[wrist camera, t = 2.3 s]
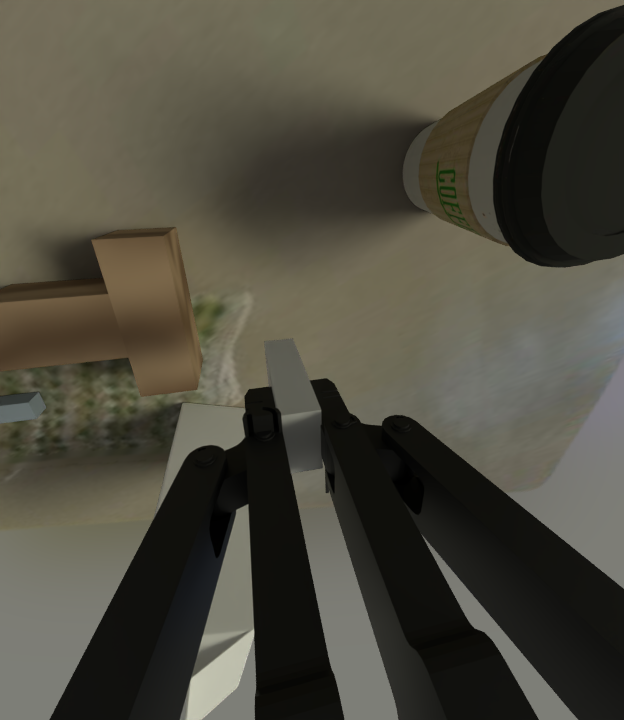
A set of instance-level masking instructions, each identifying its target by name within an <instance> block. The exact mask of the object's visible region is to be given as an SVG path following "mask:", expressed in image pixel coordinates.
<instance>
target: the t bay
mask: <svg viewBox="0 0 624 720" xmlns="http://www.w3.org/2000/svg"><path fill="white" fill-rule="evenodd" d="M45 408H46V406H45V404H44V402H43V400H42V398H41V396H40V393H39V392H33V393H24V394H16V395H8V396H0V423H8V422H15V421H23V420H31V419H37V418H38V417H39V415H40V414H41V413H42V412H43V411H44V410H45Z"/></svg>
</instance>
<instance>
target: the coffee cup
mask: <svg viewBox="0 0 624 720" xmlns="http://www.w3.org/2000/svg"><path fill="white" fill-rule="evenodd" d="M403 184H404V188H405V191H406V194H407V195H408V197H409V199H410V200H411V201H412V202H413V204H414V205H416V206H417V207H419V208H420V209H422V210H425V211H428V212H430V213H433V214H434V215H436V216H437V217H438V218H440V219H442V220H444V221H447V222H449V223H451V224H454V225H456V226H459V227H461V228H463V229H466V230H468V231H470V232H473V233H475V234H478V235H480V236H482V237H485V238H487V239H489V240H492V241H494V242H497V243H500V244H502V245H505V246H510V247H511V248H512V250H513V251H514V252H515V253H516V254H518V255H519V256H521V257H522V258H523V259H525V260H526V261H528V262H531V263H534V264H536V265H539V266H546V267H572V266H578V265H585V264H588V263H590V262H593V261H597V260H603V259H610V258H614V257H617V256H620V255H622V254H624V5H622V6H619V7H616V8H613V9H610V10H607V11H604V12H601V13H598V14H597V15H595V16H593V17H592V18H590V19H588V20H587V21H585V22H583V23H582V24H580V25H579V26H577V27H575V28H574V29H573V30H572V31H571V32H570V33H569V34H567V35H566V36H565V37H564V38H563V39H562V40H561V41H560V42H558V43H557V44H556V45H555V46H554V47H553V48H552V49H551V50H550V52H549V53H548V54H547V55H544V56H541V57H538V58H537V59H535V60H533V61H532V62H530V63H528V64H527V65H525V66H523V67H522V68H520V69H519V70H517V71H515V72H514V73H512V74H510V75H509V76H507V77H505V78H504V79H502V80H500V81H499V82H497V83H495V84H494V85H492V86H491V87H489V88H487V89H486V90H484V91H482V92H481V93H479V94H477V95H476V96H474V97H472V98H471V99H469V100H467V101H466V102H464V103H463V104H461V105H459V106H458V107H456V108H454V109H453V110H451V111H449V112H448V113H447V114H446V115H445V116H444V117H443V118H442V119H440V120H438V121H436V122H435V123H433V124H431V125H430V126H428V127H426V128H425V129H424V130H422V131H421V132H420V133H419V134H418V135H417V136H416V138H415V139H414V140H413V142H412V143H411V145H410V147H409V149H408V151H407V154H406V156H405V160H404V165H403Z"/></svg>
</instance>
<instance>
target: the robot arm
mask: <svg viewBox="0 0 624 720" xmlns="http://www.w3.org/2000/svg"><path fill="white" fill-rule="evenodd" d="M264 345H265V355H266V364H267V374H268V383H269V387H263V388H256V389H249V390H248V392H247V393H246V395H245V413H244V414H243V418H242V420H243V427H244V433H245V437H244V439H243V440H242V441H241V442H240V443H239V444H238V445H236V446H234V447H232V448H230V449H228V450H225V451H224V449H223V448H221V447H219V446H215V445H207V446H202V447H199V448H197V449H195V450H193V451H192V452H191V453H189V454H188V456H187V457H186V458H185V460H184V462H183V464H182V466H181V468H180V470H179V471H178V473H177V475H176V477H175V479H174V481H173V483H172V485H171V487H170V489H169V491H168V493H167V495H166V496H165V498H164V500H163V502H162V504H161V506H160V508H159V510H158V512H157V514H156V516H155V518H154V520H153V521H152V523H151V526H150V527H149V529H148V531H147V533H146V535H145V537H144V539H143V541H142V543H141V545H140V547H139V548H138V551H137V552H136V554H135V556H134V559H133V560H132V562H131V564H130V566H129V568H128V570H127V572H126V573H125V575H124V577H123V579H122V581H121V583H120V585H119V587H118V589H117V591H116V593H115V595H114V597H113V599H112V601H111V602H110V604H109V606H108V608H107V610H106V612H105V614H104V616H103V618H102V620H101V622H100V624H99V625H98V627H97V629H96V631H95V633H94V635H93V637H92V639H91V641H90V643H89V645H88V647H87V649H86V650H85V652H84V655H83V656H82V658H81V660H80V662H79V664H78V666H77V668H76V670H75V672H74V674H73V676H72V677H71V679H70V681H69V683H68V685H67V687H66V689H65V691H64V693H63V695H62V697H61V699H60V701H59V702H58V705H57V706H56V708H55V710H54V713H53V714H52V716H51V718H50V720H180V717H181V713H182V710H183V706H184V702H185V699H186V695H187V691H188V688H189V684H190V681H191V677H192V673H193V670H194V666H195V662H196V659H197V655H198V651H199V648H200V644H201V640H202V637H203V633H204V629H205V626H206V622H207V618H208V615H209V611H210V608H211V604H212V600H213V597H214V593H215V589H216V586H217V582H218V578H219V575H220V571H221V567H222V564H223V560H224V556H225V553H226V549H227V546H228V542H229V538H230V535H231V531H232V527H233V524H234V520H235V516H236V510H237V509H239V508H241V507H243V506H246V505H248V510H249V531H250V553H251V575H252V597H253V619H254V641H255V661H256V694H255V720H344V715H343V711H342V706H341V701H340V696H339V692H338V687H337V684H336V680H335V676H334V673H333V671H332V669H331V666H330V662H329V657H328V652H327V648H326V643H325V638H324V633H323V628H322V623H321V619H320V613H319V608H318V603H317V599H316V593H315V588H314V584H313V579H312V574H311V569H310V564H309V559H308V554H307V549H306V544H305V539H304V535H303V529H302V525H301V520H300V515H299V510H298V505H297V500H296V495H295V490H294V485H293V480H292V475H291V474H292V473H297V472H303V471H309V470H315V469H320V468H323V464H322V459H323V462H324V465H325V482H326V493H329V491H330V494H331V497H332V501H333V504H334V507H335V510H336V513H337V517H338V519H339V523H340V526H341V529H342V533H343V536H344V539H345V542H346V545H347V549H348V552H349V555H350V558H351V561H352V565H353V568H354V571H355V574H356V577H357V580H358V584H359V587H360V590H361V593H362V596H363V600H364V603H365V606H366V609H367V612H368V616H369V619H370V622H371V625H372V628H373V632H374V635H375V638H376V641H377V645H378V648H379V651H380V654H381V657H382V660H383V664H384V667H385V670H386V673H387V677H388V680H389V683H390V686H391V689H392V693H393V696H394V700H395V703H396V708H397V713H398V719H399V720H539V719H538V717H537V716H536V714H535V712H534V710H533V709H532V707H531V705H530V704H529V702H528V700H527V698H526V696H525V695H524V693H523V691H522V689H521V688H520V686H519V684H518V682H517V681H516V679H515V677H514V676H513V674H512V672H511V670H510V669H509V667H508V665H507V663H506V662H505V660H504V658H503V656H502V655H501V653H500V652H499V650H498V648H497V647H496V646H495V644H494V642H493V641H492V640H491V639H490V638H489V637H488V636H487V635H486V634H485V633H484V632H482V631H480V630H477V629H474V627H473V626H472V625H471V624H470V623H469V621H468V620H467V618H466V616H465V615H464V613H463V611H462V609H461V607H460V605H459V603H458V602H457V600H456V598H455V596H454V594H453V592H452V590H451V589H450V587H449V585H448V583H447V581H446V579H445V578H444V576H443V574H442V572H441V570H440V568H439V566H438V565H437V563H436V561H435V559H434V557H433V555H432V553H431V552H430V550H429V548H428V546H427V544H426V542H425V540H424V539H423V537H422V535H423V536H424V537H425V539H426V540H427V541H428V542H429V543H430V545H431V546H432V547H433V548H434V549H435V551H436V552H437V553H438V554H439V555H440V556H441V558H442V559H443V560H444V561H445V562H446V564H447V565H448V566H449V567H450V568H451V570H452V571H453V572H454V573H455V574H456V575H457V577H458V578H459V579H460V580H461V581H462V582H463V584H464V585H465V586H466V587H467V589H468V590H469V591H470V592H471V593H472V594H473V596H474V597H475V598H476V599H477V600H478V602H479V603H480V604H481V605H482V606H483V607H484V609H485V610H486V611H487V612H488V613H489V615H490V616H491V617H492V618H493V619H494V620H495V622H496V623H497V624H498V625H499V626H500V628H501V629H502V630H503V631H504V632H505V634H506V635H507V636H508V637H509V638H510V640H511V641H512V642H513V643H514V644H515V645H516V647H517V648H518V649H519V650H520V651H521V653H523V655H524V656H525V657H526V658H527V660H528V661H529V662H530V663H531V664H532V666H533V667H534V668H535V669H536V670H537V672H538V673H539V674H540V675H541V676H542V678H543V679H544V680H545V681H546V682H547V683H548V685H549V686H550V687H551V688H552V689H553V690H554V692H555V693H556V694H557V695H558V696H559V698H560V699H561V700H562V701H563V702H564V704H565V705H566V706H567V707H568V708H569V709H570V711H571V712H572V713H573V714H574V715H575V716H576V718H577V719H578V720H624V589H623V588H622V587H621V586H619V585H618V584H617V583H616V582H615V581H613V580H612V579H611V578H610V577H608V576H607V575H606V574H605V573H603V572H602V571H601V570H600V569H598V568H597V567H596V566H595V565H594V564H592V563H591V562H590V561H589V560H587V559H586V558H585V557H584V556H582V555H581V554H580V553H578V552H577V551H576V550H575V549H573V548H572V547H571V546H570V545H569V544H567V543H566V542H565V541H564V540H562V539H561V538H560V537H559V536H558V535H556V534H555V533H554V532H553V531H551V530H550V529H549V528H547V527H546V526H545V525H544V524H543V523H541V522H540V521H539V520H538V519H537V518H535V517H534V516H533V515H532V514H530V513H529V512H528V511H527V510H525V509H524V508H523V507H522V506H520V505H519V504H518V503H517V502H515V501H514V500H513V499H512V498H510V497H509V496H508V495H507V494H506V493H504V492H503V491H502V490H501V489H499V488H498V487H497V486H496V485H494V484H493V483H492V482H491V481H489V480H488V479H487V478H486V477H484V476H483V475H482V474H481V473H480V472H478V471H477V470H476V469H475V468H473V467H472V466H471V465H470V464H468V463H467V462H466V461H465V460H463V459H462V458H461V457H460V456H458V455H457V454H456V453H455V452H453V451H452V450H451V449H450V448H449V447H447V446H446V445H445V444H444V443H442V442H441V441H440V440H439V439H437V438H436V437H435V436H434V435H432V434H431V433H430V432H429V431H427V430H426V429H425V428H424V427H422V426H421V425H420V424H419V423H418V422H416V421H415V420H413V419H411V418H410V417H406V416H403V415H394V416H389V417H387V418H385V419H384V421H383V422H382V426H378V425H367V424H363V423H361V422H360V420H359V419H358V418H357V417H356V416H355V415H353V414H351V413H349V411H348V409H347V407H346V406H345V404H344V402H343V400H342V398H341V396H340V394H339V392H338V391H337V388H336V386H335V384H334V383H333V382H331V381H330V380H328V379H327V378H326V379H318V380H309V378H308V375H307V373H306V370H305V368H304V365H303V363H302V360H301V357H300V355H299V352H298V350H297V347H296V345H295V342H294V340H293V338H292V339H283V340H273V341H264ZM421 534H422V535H421Z"/></svg>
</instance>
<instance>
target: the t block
mask: <svg viewBox="0 0 624 720" xmlns="http://www.w3.org/2000/svg"><path fill="white" fill-rule="evenodd" d="M91 241H92V244H93V247H94V250H95V253H96V256H97V259H98V263H99V266H100V269H101V272H102V275H103V278H93V279H79V280H65V281H51V282H37V283H23V284H11V285H9V286H7V287H4V288H2V289H0V371H9V370H18V369H27V368H37V367H46V366H55V365H64V364H74V363H83V362H92V361H101V360H111V359H120V358H129V360H130V364H131V367H132V370H133V373H134V376H135V379H136V383H137V386H138V389H139V392H140V395H141V397H143V396H151V395H159V394H167V393H175V392H183V391H191V390H197V388H198V383H199V378H200V372H201V367H202V362H203V358H202V353H201V348H200V343H199V339H198V334H197V329H196V324H195V319H194V314H193V309H192V304H191V299H190V294H189V289H188V284H187V279H186V274H185V269H184V265H183V260H182V255H181V250H180V245H179V240H178V235H177V230H176V227H173V228H153V229H133V230H117V231H114V232H112V233H109V234H106V235H103V236H101V237H98V238H95V239H93V240H91Z"/></svg>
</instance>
